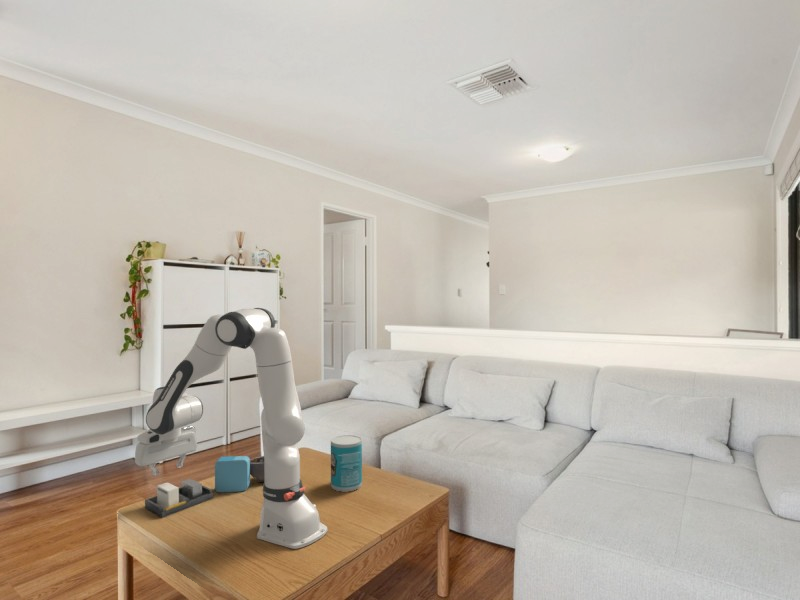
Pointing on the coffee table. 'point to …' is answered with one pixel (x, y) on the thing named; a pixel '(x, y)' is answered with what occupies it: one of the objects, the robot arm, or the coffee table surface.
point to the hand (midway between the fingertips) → (167, 470)
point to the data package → (232, 474)
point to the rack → (181, 498)
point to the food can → (346, 463)
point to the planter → (257, 468)
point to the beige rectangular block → (167, 495)
